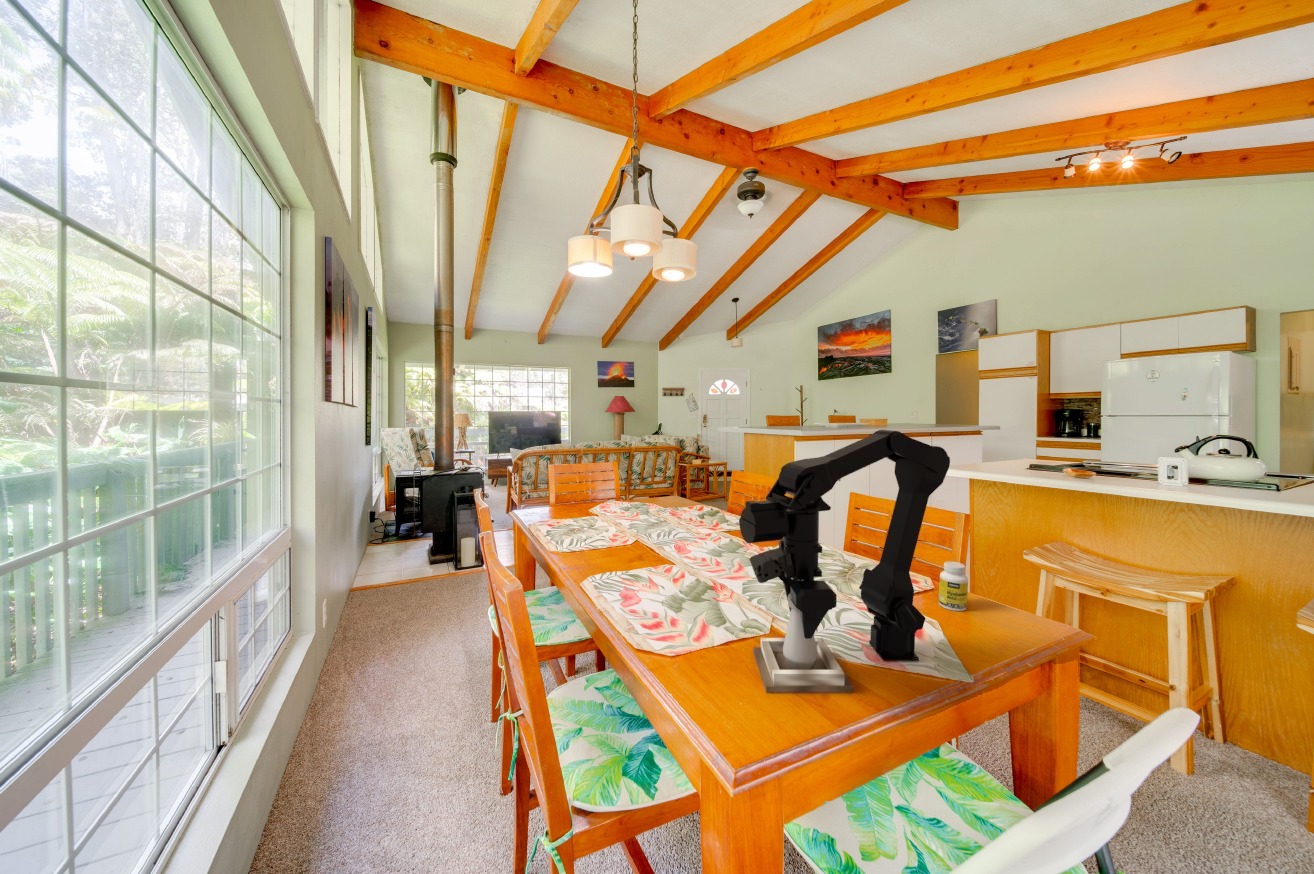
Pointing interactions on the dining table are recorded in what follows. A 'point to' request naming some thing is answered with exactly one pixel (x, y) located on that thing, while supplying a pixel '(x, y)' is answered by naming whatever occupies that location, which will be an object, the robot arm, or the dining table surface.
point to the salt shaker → (798, 643)
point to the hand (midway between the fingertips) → (800, 624)
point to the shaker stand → (787, 680)
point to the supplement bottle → (953, 587)
